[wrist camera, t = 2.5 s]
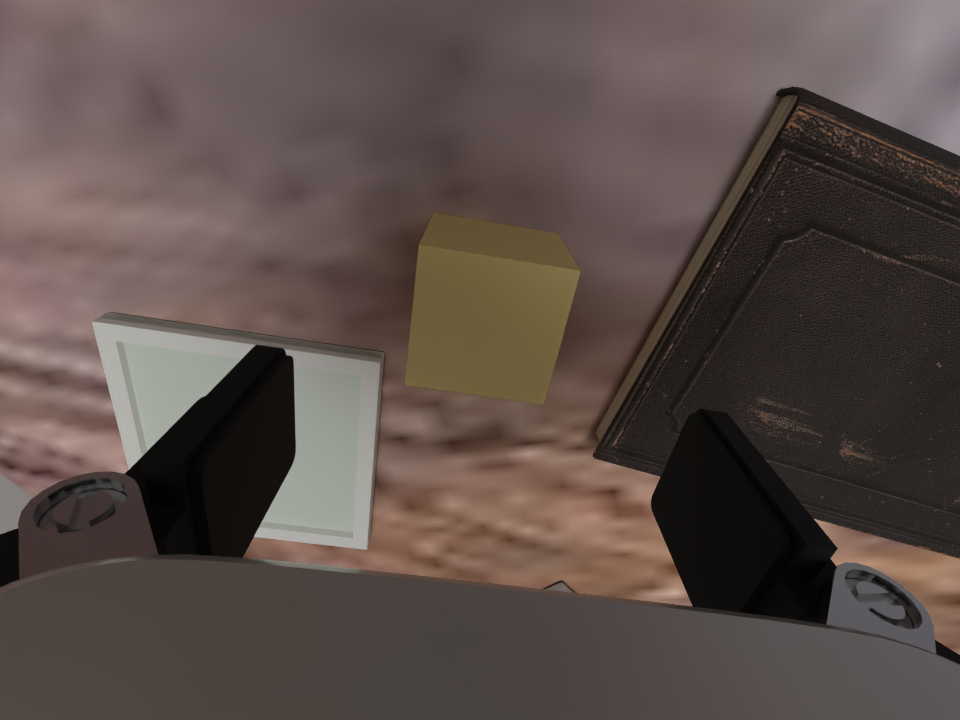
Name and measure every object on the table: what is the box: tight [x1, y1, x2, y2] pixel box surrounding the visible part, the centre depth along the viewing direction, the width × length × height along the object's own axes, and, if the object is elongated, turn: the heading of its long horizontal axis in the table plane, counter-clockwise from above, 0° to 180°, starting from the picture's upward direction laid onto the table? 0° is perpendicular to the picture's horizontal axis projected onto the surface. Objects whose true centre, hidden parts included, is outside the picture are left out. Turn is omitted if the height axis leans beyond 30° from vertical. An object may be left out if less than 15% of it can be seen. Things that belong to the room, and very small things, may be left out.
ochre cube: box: [405, 212, 581, 405], centre depth 18 cm, size 5×5×5 cm
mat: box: [92, 312, 385, 550], centre depth 23 cm, size 12×12×1 cm
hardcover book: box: [593, 87, 960, 559], centre depth 21 cm, size 16×23×2 cm
